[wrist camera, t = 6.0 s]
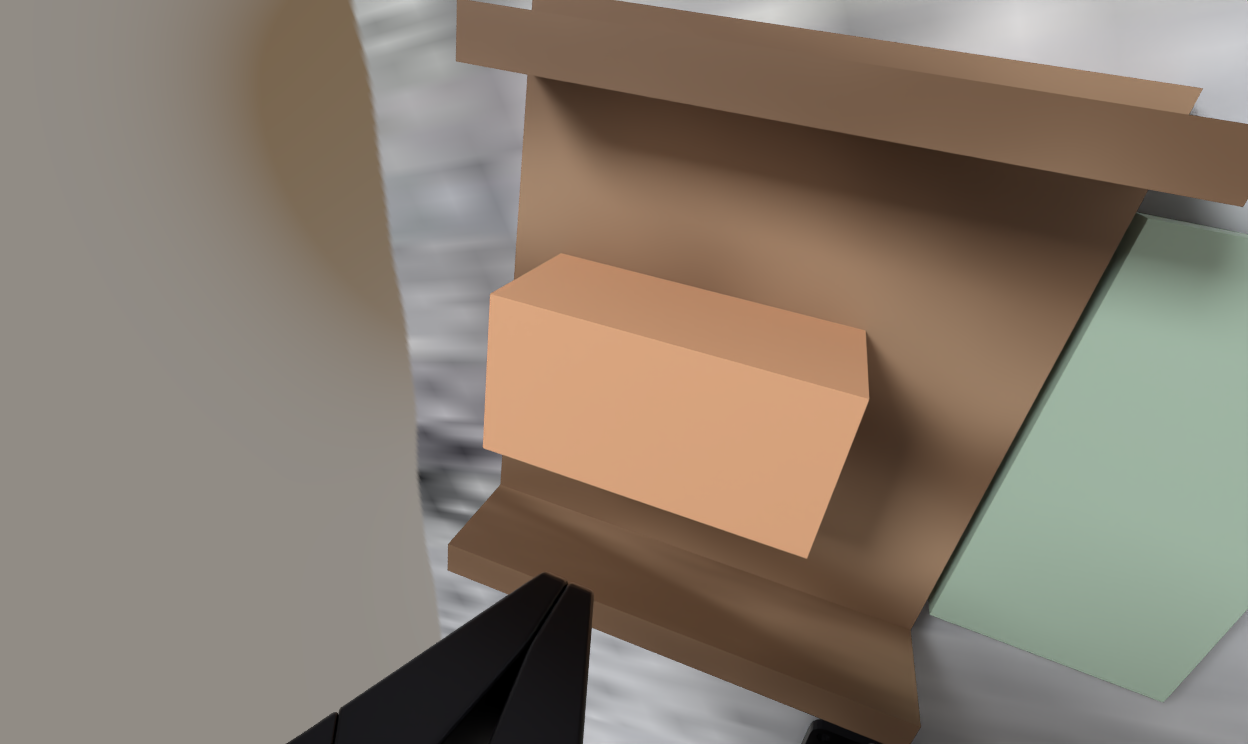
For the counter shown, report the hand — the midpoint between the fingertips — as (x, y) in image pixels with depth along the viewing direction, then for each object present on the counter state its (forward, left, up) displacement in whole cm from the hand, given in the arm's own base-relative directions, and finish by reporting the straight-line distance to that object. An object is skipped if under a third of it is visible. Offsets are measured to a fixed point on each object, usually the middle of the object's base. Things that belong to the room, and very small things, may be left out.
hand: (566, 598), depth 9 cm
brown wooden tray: (-1, -1, -11) cm, 11 cm away
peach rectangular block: (-1, 0, -10) cm, 10 cm away
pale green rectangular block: (-1, -9, -10) cm, 13 cm away
